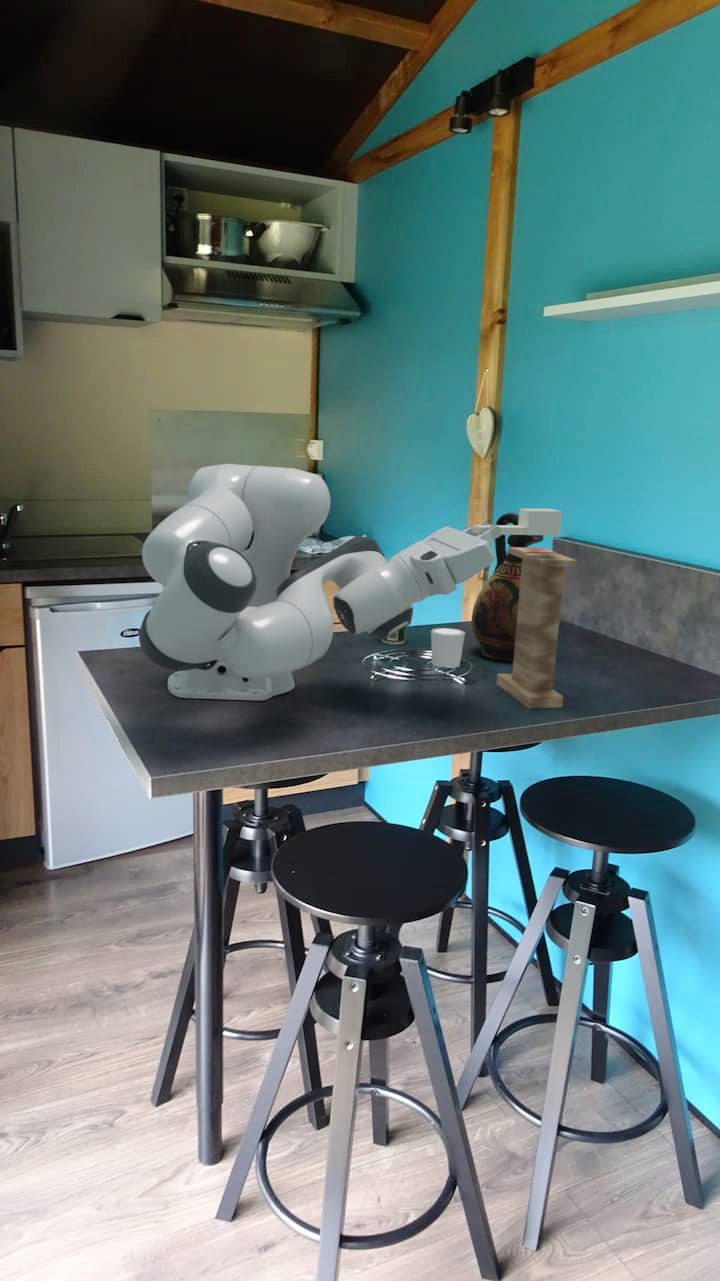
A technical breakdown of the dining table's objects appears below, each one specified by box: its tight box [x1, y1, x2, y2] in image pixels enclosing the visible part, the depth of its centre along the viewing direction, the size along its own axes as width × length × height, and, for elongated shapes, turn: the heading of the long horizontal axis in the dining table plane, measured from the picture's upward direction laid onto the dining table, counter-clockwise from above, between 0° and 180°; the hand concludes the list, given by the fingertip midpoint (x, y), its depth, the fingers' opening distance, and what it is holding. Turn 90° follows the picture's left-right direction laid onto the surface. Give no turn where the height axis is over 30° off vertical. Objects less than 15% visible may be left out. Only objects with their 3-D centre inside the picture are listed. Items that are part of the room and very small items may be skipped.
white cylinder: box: [430, 627, 466, 669], centre depth 186 cm, size 7×7×7 cm
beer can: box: [380, 626, 407, 646], centre depth 202 cm, size 5×5×12 cm
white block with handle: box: [472, 508, 563, 536], centre depth 156 cm, size 14×4×4 cm, turn 104°
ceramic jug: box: [471, 512, 544, 663], centre depth 194 cm, size 17×15×30 cm
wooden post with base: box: [496, 546, 578, 709], centre depth 166 cm, size 6×15×26 cm, turn 13°
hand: (494, 527), depth 155 cm, fingers closed on white block with handle, 3 cm apart
